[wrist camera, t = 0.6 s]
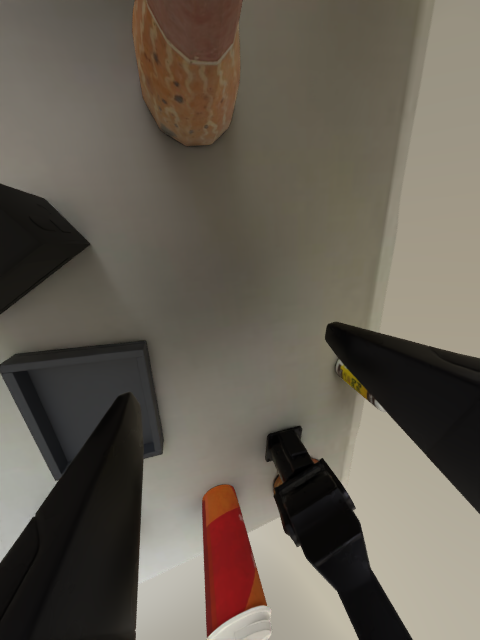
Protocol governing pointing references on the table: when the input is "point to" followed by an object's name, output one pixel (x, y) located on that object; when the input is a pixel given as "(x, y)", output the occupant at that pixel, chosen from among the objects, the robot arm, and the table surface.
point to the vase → (188, 65)
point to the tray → (80, 395)
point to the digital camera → (31, 243)
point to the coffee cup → (231, 572)
